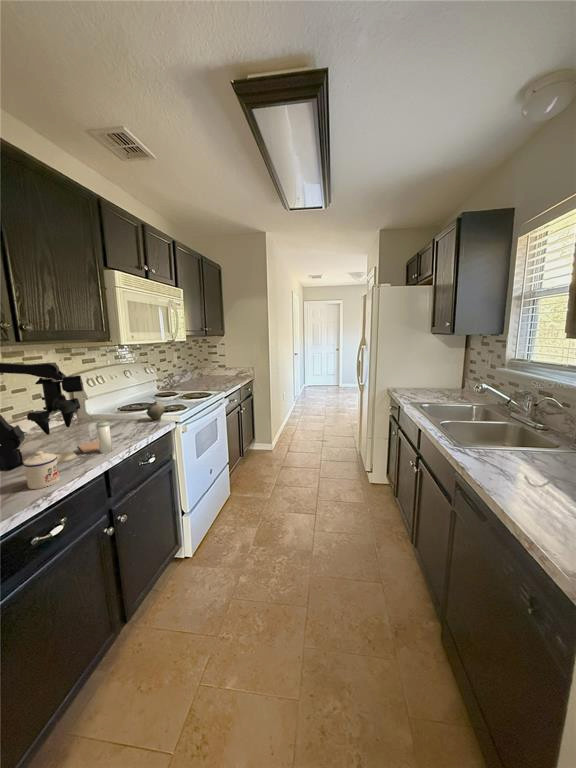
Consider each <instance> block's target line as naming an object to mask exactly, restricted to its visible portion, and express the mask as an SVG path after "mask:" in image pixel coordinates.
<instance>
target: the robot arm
mask: <svg viewBox="0 0 576 768" xmlns="http://www.w3.org/2000/svg"><path fill="white" fill-rule="evenodd" d="M0 374H12V375H13V374H15V375H16V374H17V375H18V374H19V375H29V376H34V377H37V378H39V379H38V380H37V381H36V382H35V385H42V392H43V396H41V401H44V404H45V405H44V407H43V408H42V409H43V410H34V411H30V412H28V413H27V415H26V418H27V421H31V422H34V423H35V424H37V425H38V427H39V428H40V429H41V430H42V431H43V433H44V434H45V435H47V436H50V435H51V434H50V424H49V422H50V421H51V420H52V419H51V418H50V416H51V415H53V414H57V413H61V417H62V418H63V423H64V424H65V427H66V428H70V427H71V424H72V419H73V417H74V414H75V413H76V412H79V410H80V409H81V404H80V400H79V398H77V397H75V398H72V399H67V397H66V396H65V394H64V395H63V394H62V393H63V391H64V392H65V393H66V394H68V393H80V392H84V382H83V378H82V375H81V374H80V375H79V374H78V375H72V376H71V375H69V376H66V374H65V373H63V372H62V371H61V370H60V367H59V366H58V364H56V362H55V363H54V362H41V363H40V362H38V363H29V364H28V363H17V362H16V363H14V362H12V363H11V362H0ZM25 433H26V432H25V431H23V430H22V429H21V427H20V425H18V424H17V425H15V426H13V425H11V424H10V423H8V422H7V420H6V419H5V418H4V417H3V416H2V415H1V413H0V471H7V470H9V471H12V470H14V469H17V468H18V467H21V466H23V463H24V460H23V459H24V458H23V454H22V451H21V449H20V446H21V445H22V444H23V442H24V441H25V439H26V436H25ZM11 469H12V470H11Z"/></svg>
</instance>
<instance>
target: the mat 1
mask: <svg viewBox="0 0 576 768" xmlns="http://www.w3.org/2000/svg"><path fill="white" fill-rule="evenodd" d="M55 455H56V456H57V464H58V463H63V462H67V461H70V460H74V459H78V458H79V457H78V455H77V453H75V452H74V450H70V451H65V452H62V453H58V454H55Z"/></svg>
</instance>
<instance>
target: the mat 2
mask: <svg viewBox="0 0 576 768" xmlns="http://www.w3.org/2000/svg"><path fill="white" fill-rule="evenodd" d="M77 447H78V448H79V450H81V452H82V453H84V454H86V453H89V452H93V451H97V450H100V447H99V440H95V441H91V442H87V443H83V444H79V445H77Z"/></svg>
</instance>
